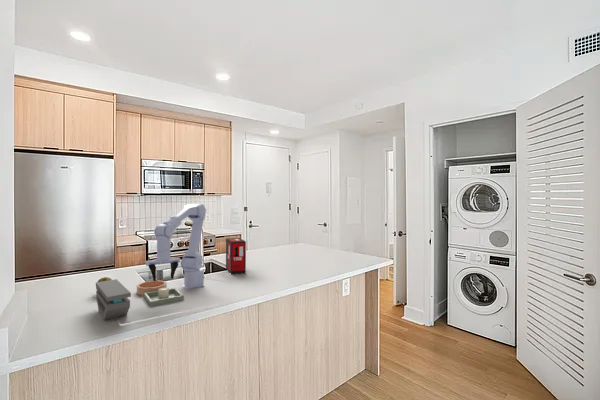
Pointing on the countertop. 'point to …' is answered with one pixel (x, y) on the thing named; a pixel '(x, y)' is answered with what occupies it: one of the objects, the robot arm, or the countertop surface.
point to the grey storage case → (112, 299)
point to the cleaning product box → (236, 255)
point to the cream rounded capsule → (163, 293)
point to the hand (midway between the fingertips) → (163, 279)
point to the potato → (103, 280)
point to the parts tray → (173, 296)
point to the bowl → (150, 286)
